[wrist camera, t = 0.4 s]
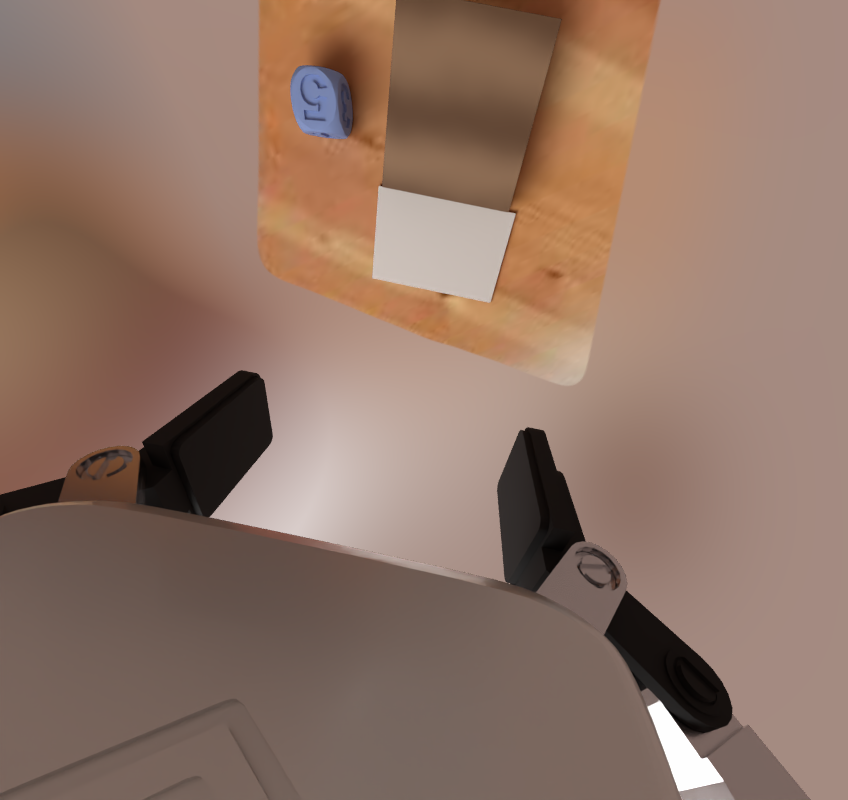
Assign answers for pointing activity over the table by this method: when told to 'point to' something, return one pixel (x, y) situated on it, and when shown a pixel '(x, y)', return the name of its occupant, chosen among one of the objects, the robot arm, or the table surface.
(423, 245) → the mat
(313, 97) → the decorative dice
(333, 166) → the table surface
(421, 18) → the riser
